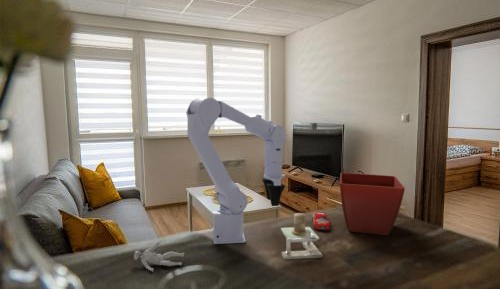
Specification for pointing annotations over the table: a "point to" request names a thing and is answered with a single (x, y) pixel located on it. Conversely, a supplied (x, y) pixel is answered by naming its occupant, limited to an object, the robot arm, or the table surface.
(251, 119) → the robot arm
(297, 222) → the ringed peg
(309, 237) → the wire frame
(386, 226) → the plant pot
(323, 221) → the race car
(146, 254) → the soldier figure
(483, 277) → the table surface
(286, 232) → the sage mat
